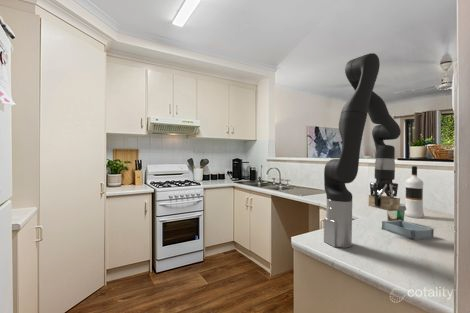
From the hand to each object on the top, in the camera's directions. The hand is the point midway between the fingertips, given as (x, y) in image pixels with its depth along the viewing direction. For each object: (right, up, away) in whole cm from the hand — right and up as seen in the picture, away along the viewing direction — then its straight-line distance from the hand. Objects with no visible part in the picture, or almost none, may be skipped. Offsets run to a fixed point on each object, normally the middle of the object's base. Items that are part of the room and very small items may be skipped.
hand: (383, 206), depth 100 cm
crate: (+12, -13, +2) cm, 18 cm away
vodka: (+40, -14, +33) cm, 54 cm away
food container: (+20, -13, +18) cm, 30 cm away
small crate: (0, -1, 0) cm, 1 cm away
